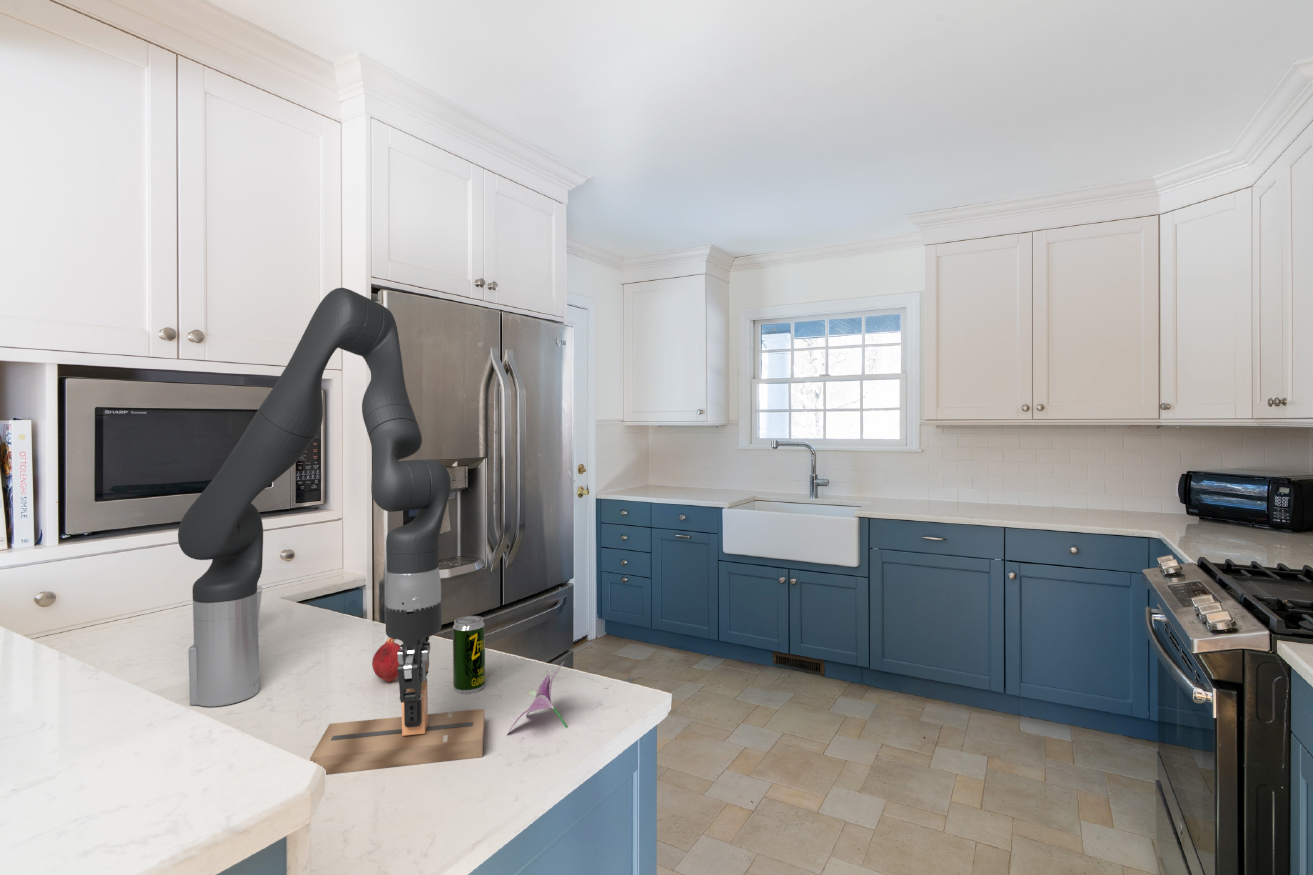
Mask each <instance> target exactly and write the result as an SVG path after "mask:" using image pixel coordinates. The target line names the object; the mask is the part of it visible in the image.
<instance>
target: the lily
mask: <svg viewBox="0 0 1313 875" xmlns="http://www.w3.org/2000/svg"><path fill="white" fill-rule="evenodd" d="M564 663H565V661H563V662H562V663H561V664H560V665H559V666H558V668H556V670H555V672H554V673H553V674H552V677H551V671H549V672H548V674H547V675H546V676H545V677H544V678H543V680H542V681H541V683H540V684H539V686H538V687H537V688H535V690H534V689H533V688H531V690H528V692H527V694H528V695H529V694H530V695H533V696H535V699H534V700H533V701H532V703H531V704H530V706H529V707H528V708H527V709H526V710H524V711H523V712H522V713H521V714H519V716H518V717H517V718H516V719H515V721H514V723H512V726H511V727H510V728H509V730H508V732H507V734H509V733H510V732H511V731H512V728H514V726H515V725H516V723H517V722H518V721H519V719H520V718H522V716H525V717H528V716H529V714H530V713H532V712H536V711H540V710H545V709H549V708H551V709H552V710H553V711H554V712H555V714H556V715H557V716H558V717H559V719H560V721H561V722H562V724H563V725H564V727H565V728H566V729H567V728H568V725H567V723H566V722H565V720H564V719H563V717H562V716H561V714H560V713H559V711H558V710H557V708H555V707H554V705H553V703H552V684H553V681H554V678H555V677H556V675H557V673H558V671H559V670H560V668H561V667H562V666H563V664H564ZM534 691H535V692H534Z"/></svg>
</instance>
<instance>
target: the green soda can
mask: <svg viewBox="0 0 1313 875" xmlns="http://www.w3.org/2000/svg"><path fill="white" fill-rule="evenodd" d="M485 625H486V624H485V622H484V618H483V617H482V616H478V615H466V616H461V617H458V618H456V619H455V620H454V621H453V626H452V665H453V666H452V670H453V671H452V672H453V673H452V676H453V678H452V679H453V681H452V682H453V685H452V686H453V687H454V688H453V689H454V690H455V692H456V693H458V694H464V695H468V694H470V695H471V694H475V693H478V692H480V691H482V690H483V689H484V688H485V685H486V631H485V630H486V626H485Z"/></svg>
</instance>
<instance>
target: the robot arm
mask: <svg viewBox="0 0 1313 875" xmlns="http://www.w3.org/2000/svg"><path fill="white" fill-rule="evenodd" d="M306 326H307V327H306V328H305V330H304V332H303V334H302V336H301V338H300V340H299V342H298V344H297V346H296V348H295V349H294V352H293V353H292V355H291V358H290V359H289V361H288V363H287V365H286V366H285V368H284V370H283V371H282V373H281V374H280V376H279V378H278V379H277V381H276V383H275V384H274V386H273V387H272V388H271V390H270V392H269V393H268V395H267V397H265V399H264V401H263V402H262V403H261V405H260V406H259V408H258V410H257V411H256V413H255V414H254V416H253V418H252V419H251V420H250V422H249V423H248V425H247V427H246V429H245V431H244V432H243V434H242V435H241V438H240V439H238V440H239V441H238V442H237V443H236V445H235V446H234V448H233V449H232V450H231V452H230V454H229V455H228V457H227V458H226V460H225V461H224V463H223V465H222V466H221V467H220V470H219V471H218V472H217V473H216V475H214V476H215V477H213V479H212V480H211V481H210V482H209V484H208V485H207V486H206V487H205V489H204V490H203V491H202V492H201V493H200V495H199V496H198V497H197V498H196V500H194V502H193V503H192V504H191V506H190V507H189V508H188V509H187V511H186V512H185V514H183V517H182V518H181V521H180V524H179V526H178V532H177V541H178V546H179V548H180V550H181V551H182V552H183V554H184V555H185V556H187V557H189V558H191V559H194V560H197V561H207V560H208V561H209V560H210V561H211V563H210V565H209V567H208V569H207V570H206V572H204V573H203V574H202V575H201V576H200V577H199V578H197V579H196V580H195V582H193V584H192V589H191V590H192V592H191V593H192V614H193V616H192V618H193V619H192V621H193V622H192V624H193V644H192V645H191V646H189V648H188V676H189V678H188V679H189V682H188V683H189V684H188V685H189V686H188V687H189V705H190V706H194V705H195V706H196V705H197V706H201V707H221V706H222V707H223V706H227V705H232V704H235V703H236V704H237V703H239V702H240V703H241V702H242V701H245V700H248V699H249V698H252V697H253V696H256V695H257V694H258V693H259V691H260V656H259V655H260V653H259V650H260V649H259V647H260V646H259V621H258V602H257V585H258V582H259V580H260V578H261V575H262V571H263V556H264V555H263V554H264V526H263V520H262V517H261V513H260V512H259V510H258V508H257V507H256V506H255V505H254V503H253V501H254V500H255V498H257V497H258V495H259V494H261V493H262V491H263V492H264V490H265V489H266V488H268V487H269V486H270V485H272V483H274V482H275V481H276V480H277V479H279V478H280V477H281V476H282V475H284V474H285V473H286V472H287V471H288V470H290V469H291V468H292V467H293V466H294V465H295V464H296V463H297V462H298V461H299V460H300V459H301V458H302V456H303V455H304V454H305V452H306V451H307V449H308V448H309V446H310V445H311V443H312V442H313V441H314V439H315V438H316V437H317V434H318V432H319V431H320V429H321V427H322V424H323V418H324V406H323V405H324V402H323V391H322V390H323V389H322V382H323V381H322V380H323V375H324V371H325V369H327V368H326V367H327V365H328V363H329V361H330V359H331V358H332V357H333V354H334V353H335V352H336V350H337V349H339V350H343V351H345V352H349V353H351V354H354V355H357V356H360V357H362V358H363V360H364V361H365V363H366V365H367V367H368V369H369V372H370V376H371V377H370V380H369V383H368V385H367V387H366V390H365V391H364V394H363V397H362V402H361V414H362V418H363V419H362V420H363V422H364V426H365V429H366V432H367V435H368V438H369V442H370V445H371V453H372V454H371V455H372V474H371V483H370V484H371V490H370V491H371V497H372V498H373V501H374V502H375V504H376V505H377V506H378V507H379V508H380V509H382V510H383V511H386V512H392V513H393V512H403V511H413V510H418V511H417V513H416V515H415V516H414V519H413V520H412V521H410V522H409V523H407V524H404V525H401V526H398V527H395V528H393V529H392V530H390V531H389V532H388V533H387V535H386V539H385V554H386V574H385V575H386V576H385V585H384V606H385V608H384V611H385V612H384V614H385V616H384V617H385V618H384V619H385V635H386V636H387V637H388V638H391V639H394V641H395V640H398V641H401V642H402V643H401V644H400V646H401V650H398V663H399V666H398V668H397V671H398V687H399V702H400V703H401V704H402V703H403V702H404V724H405V727H418V726H420V725H421V722H422V706H421V699H422V697H423V693H422V682H424V681H427V682H428V678H427V676H428V674H429V672H430V671H429V668H430V652H431V642H430V637H432V636H434V635H436V634H439V632H440V631H441V630H442V626H443V625H442V623H443V622H442V580H441V574H440V567H439V566H440V556H439V555H440V554H439V544H440V543H439V540H440V536H441V529H442V525H443V520H444V516H445V514H446V509H447V506H448V502H449V498H450V494H451V487H452V482H451V476H450V473H449V469H447V467H446V466H445V464H444V463H443V462H441V461H440V460H437V459H433V458H431V459H409V460H403V459H406V458H409V457H410V456H412V455H414V454H416V453H417V452H418V451H419V449H421V446H422V444H423V436H422V432H421V429H420V427H419V423H418V422H417V418H416V416H415V412H414V410H413V407H412V404H411V402H410V398H409V395H408V390H407V386H406V383H405V382H406V381H405V375H404V367H403V366H404V365H403V358H402V353H401V352H402V351H401V345H400V338H399V331H398V327H397V322H396V319H395V316H394V314H393V313H392V311H391V310H389V308H387V307H385V306H384V305H382V304H381V303H379V302H377V301H375V300H372V299H371V298H368V297H366V296H364V295H362V294H360V293H358V292H356V291H353V290H352V289H349V288H345V287H336V288H334V289H332V290H330V291H329V292H328V293H327V294H326V295H325V296H324V297H323V298H322V300H321V301H320V303H319V304H318V306H317V307H316V309H315V311H314V313H313V315H312V316H311V318H310V321H309V322H308V324H307V325H306ZM252 503H253V504H252ZM407 689H415V691H414V692H407Z"/></svg>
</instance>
